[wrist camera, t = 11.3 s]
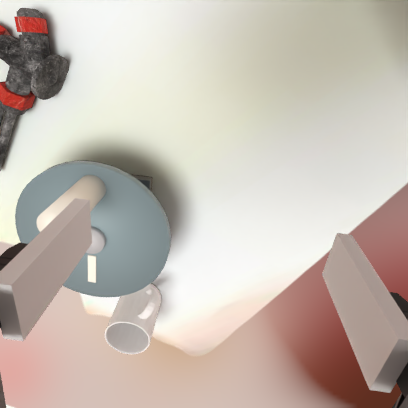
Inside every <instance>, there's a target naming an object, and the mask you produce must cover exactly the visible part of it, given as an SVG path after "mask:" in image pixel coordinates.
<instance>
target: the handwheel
mask: <svg viewBox="0 0 408 408" xmlns="http://www.w3.org/2000/svg"><path fill="white" fill-rule="evenodd" d="M75 198H78V199H86V200H90V216H91V233H92V244H91V246H90V247H89V248H88V250H87V251H86V253H85V254H84V256H83V257H82V258H81V260H80V261H79V263H78V264H77V266H76V267H75V268H74V270H73V271H72V273H71V274H70V276H69V277H68V278H67V280H66V281H65V283H64V284H63V286H65V287H67V288H69V289H71V290H74V291H76V292H80V293H83V294H87V295H91V296H98V297H119V296H124V295H128V294H132V293H135V292H137V291H139V290H141V289H143V288H145V287H146V286H148V285H149V284H150V283H152V282H153V281H154V280H155V279H156V278H157V277H158V275H159V274H160V273H161V271H162V269H163V268H164V266H165V263H166V261H167V257H168V254H169V250H170V244H171V233H170V226H169V222H168V219H167V216H166V214H165V211H164V210H163V208H162V206H161V204H160V203H159V201H158V200H157V199H156V197H155V196H154V194H153V193H152V192H151V191H150V190H149V189H148V188H147V187H146V186H145V185H143V184H142V183H141V182H140V181H139V180H137V179H136V178H134V177H133V176H131V175H130V174H128V173H126V172H124V171H122V170H120V169H118V168H116V167H113V166H110V165H107V164H103V163H99V162H92V161H71V162H65V163H62V164H58V165H55V166H53V167H51V168H49V169H47V170H46V171H44V172H43V173H41V174H40V175H38V176H37V177H35V178H34V179H33V180H32V181H31V182H30V183H29V184H27V186H26V187H25V189H24V190H23V191H22V193H21V195H20V197H19V199H18V203H17V207H16V214H15V219H16V228H17V233H18V236H19V239H20V242H21V243H26V244H29V243H30V242H31V241H32V240H33V239H34V238H35V237H36V236H37V235H38V234H39V233H40V232H41V231H42V230H43V229H44V228H45V227H46V226H47V225H48V224H49V223H50V222H51V221H52V220H53V219H54V218H55V217H56V216H57V215H58V214H59V213H61V212H62V211H63V210H64V209H65V208H66V207H67V206H68V205H69V204H70V203H71V202H72V201H73V200H74V199H75Z"/></svg>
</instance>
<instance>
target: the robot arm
mask: <svg viewBox="0 0 408 408" xmlns="http://www.w3.org/2000/svg"><path fill="white" fill-rule="evenodd" d="M91 244H92V233H91V216H90V200H86V199H78V198H75V199H74V200H73V201H72V202H71V203H70V204H69V205H68V206H67V207H66V208H65V209H64V210H63V211H62V212H61V213H59V214H58V215H57V216H56V217H55V218H54V219H53V220H52V221H51V222H50V223H49V224H48V225H47V226H46V227H45V228H44V229H43V230H42V231H41V232H40V233H39V234H38V235H37V236H36V237H35V238H34V239H33V240H32V241H31V242H30V243H29V244H26V243H19V244H17V245H15V246H13V247H11V248H9V249H7V250H6V251H5V252H4V253H3V254H2V255H1V256H0V328H1V330H2V334H3V338H5V339H11V340H19V341H24V339H25V338H26V337H27V335H28V334H29V332H30V331H31V330H32V328H33V327H34V325H35V324H36V322H37V321H38V320H39V318H40V317H41V315H42V314H43V312H44V311H45V310H46V308H47V307H48V305H49V304H50V302H51V301H52V300H53V298H54V297H55V295H56V294H57V293H58V291H59V290H60V288H61V287H62V286H63V284H64V283H65V281H66V280H67V278H68V277H69V276H70V274H71V273H72V271H73V270H74V268H75V267H76V266H77V264H78V263H79V261H80V260H81V258H82V257H83V256H84V254H85V253H86V251H87V250H88V248H89V247H90V246H91ZM322 275H323V278H324V280H325V283H326V285H327V287H328V290H329V292H330V295H331V297H332V300H333V302H334V305H335V307H336V309H337V312H338V314H339V317H340V319H341V321H342V324H343V326H344V329H345V331H346V334H347V336H348V338H349V341H350V343H351V346H352V348H353V351H354V353H355V356H356V358H357V360H358V363H359V365H360V368H361V370H362V372H363V375H364V377H365V380H366V382H367V385H368V387H369V389H370V390H375V391H382V392H389V393H390V392H391V390H392V389H393V387H394V386H395V384H396V382H397V384H398V386H399V388H400V390H401V392H402V393H401V395H400V397H399V398H398V400H397V401H396V403H395V404H394V406H393V407H392V408H408V302H407V301H406V300H405V299H403V298H402V297H401V296H399V294H397V293H392V292H389V291H388V290H387V288H386V287H385V285H384V284H383V282H382V281H381V279H380V278H379V276H378V275H377V273H376V272H375V270H374V268H373V267H372V265H371V264H370V262H369V261H368V259H367V258H366V256H365V255H364V253H363V252H362V250H361V249H360V247H359V246H358V244H357V243H356V241H355V239H354V238H353V236H352V235H347V234H340V233H337V235H336V237H335V240H334V243H333V246H332V248H331V251H330V254H329V257H328V260H327V262H326V265H325V268H324V271H323V273H322ZM0 408H6V404H5V398H4V392H3V386H2V380H1V375H0Z"/></svg>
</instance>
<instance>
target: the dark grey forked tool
mask: <svg viewBox="0 0 408 408" xmlns="http://www.w3.org/2000/svg"><path fill="white" fill-rule="evenodd" d="M15 22H16V27H17V32H22V35H19V37H20V40H17V39H16V38H14V37H13V36H11V34H10V33H9V32H8V31H7V30H6V29H5V28H4V27H2V26H1V25H0V58H1V59H2V60H3V61H5V62H6V63H7V64H8V65H9V66H10V67H9V71H8V75H7V79H6V81H5V82H0V126H1V122H2V118H3V115H4V111H7V112H6V116H5V120H4V123H3V127H2V131H1V135H0V171H1V168H2V164H3V161H4V157H5V154H6V150H7V147H8V144H9V140H10V137H11V133H12V130H13V126H14V123H15V119H16V116H17V115H22V114H24V113H25V111H26V110H27V109H29V108H32V106H33V102H34V99H35V96H37V97H38V98H40V99H42V100H44V99H49V98H51V97H53V96H54V95H55V94H57V93H58V92H59V91H60V89H61V88H62V86H63V83H64V81H65V78H66V75H67V73H68V70H69V67H68V63H67V61H66V60H65V59H64V58H63V57H62V56H60V55H58V54H53V55H50V48H49V41H48V36H45V35H44V34H48V30H47V23H46V19H43V15H42V14H41V13H40V12H39V11H38V10H37V9H30V8H20V9H19V10H18V11H17V17H15ZM31 90H32V91H31ZM32 92H33V93H32Z"/></svg>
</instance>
